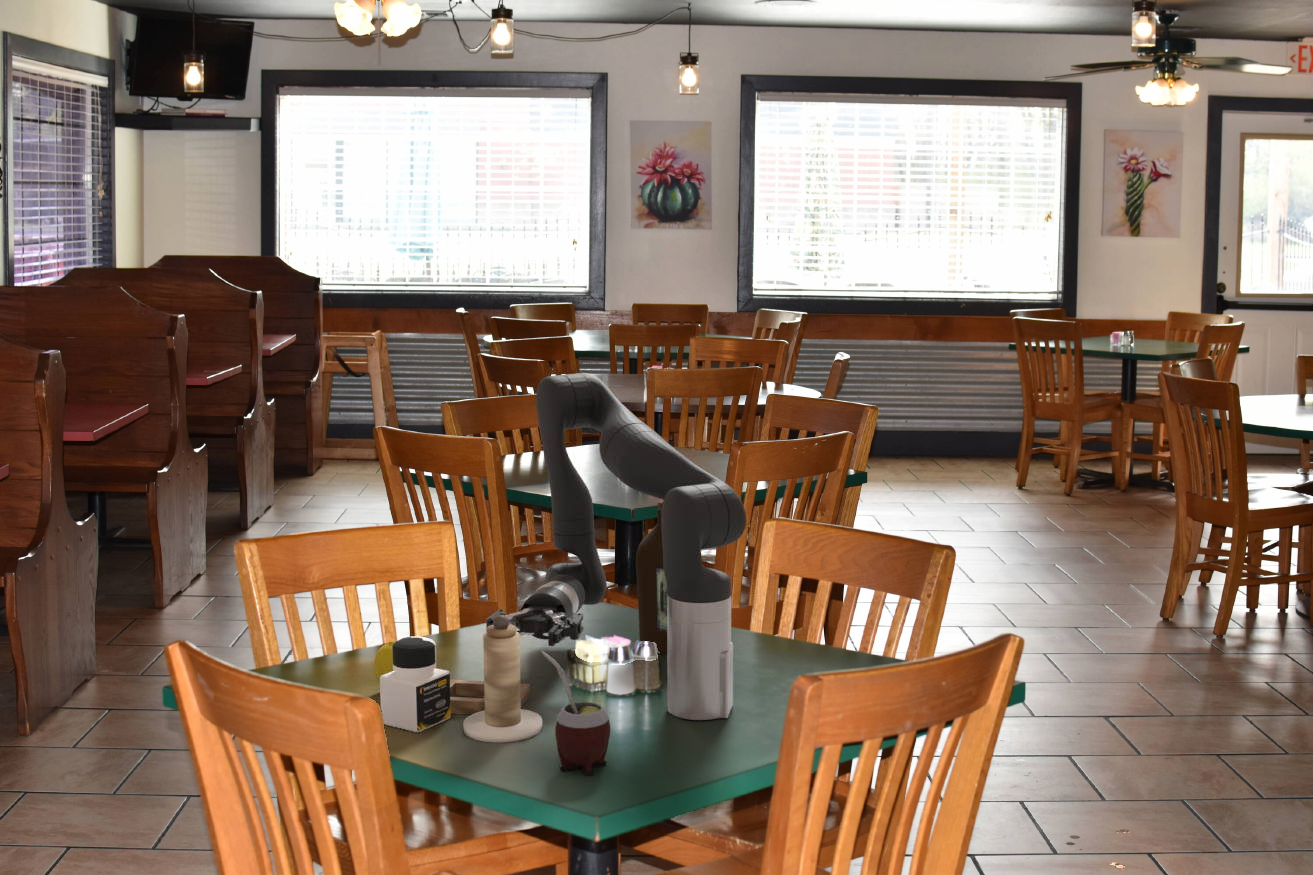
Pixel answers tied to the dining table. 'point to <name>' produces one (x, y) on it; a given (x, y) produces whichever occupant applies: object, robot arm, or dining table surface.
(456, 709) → the frame
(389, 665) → the lemon
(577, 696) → the dining table surface
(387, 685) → the medicine bottle
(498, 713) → the pepper mill
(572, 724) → the mate gourd
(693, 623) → the robot arm
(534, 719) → the saucer
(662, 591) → the olive oil
